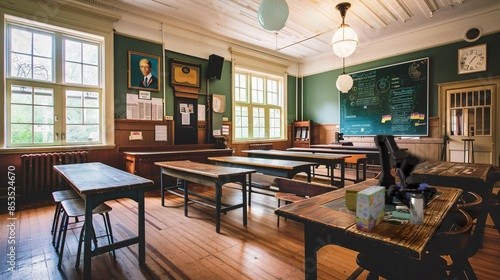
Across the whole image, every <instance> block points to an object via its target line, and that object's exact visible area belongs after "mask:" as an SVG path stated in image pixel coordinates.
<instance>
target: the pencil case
mask: <svg viewBox="0 0 500 280" xmlns="http://www.w3.org/2000/svg"><path fill="white" fill-rule="evenodd" d="M396 184H397V186H400V182H397V183H396ZM400 187H401V188H402V186H400ZM425 187H431V186H430V185H429V184H427V183H426V182H425V183H423V184H420V187H419V188H418V190H423V189H424V188H425ZM406 196H407V199H408V200H410V197H412V194H406ZM393 199H396V198H395V197H393ZM430 199H431V198H428V200H430Z"/></svg>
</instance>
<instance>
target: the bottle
mask: <svg viewBox="0 0 500 280" xmlns="http://www.w3.org/2000/svg"><path fill="white" fill-rule="evenodd" d="M409 203H410V206H411V209H410V212H409V214H410V220H409V223H410V224H412V225H415V226H423V224H424V207H423V198H421V194H412V197H410V199H409Z"/></svg>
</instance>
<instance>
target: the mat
mask: <svg viewBox="0 0 500 280" xmlns="http://www.w3.org/2000/svg"><path fill="white" fill-rule="evenodd" d="M391 215H392V218H395V219H401V220H408V221H410V213H405V212H398V211H391Z"/></svg>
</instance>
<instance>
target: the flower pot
mask: <svg viewBox="0 0 500 280" xmlns="http://www.w3.org/2000/svg"><path fill="white" fill-rule="evenodd" d="M360 191H361V190H356V189H355V190H353V189H345V190H344V194H343V195H344V202H345V206H346V208H347V210H348V211H354V212H357V193H358V192H360Z"/></svg>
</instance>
